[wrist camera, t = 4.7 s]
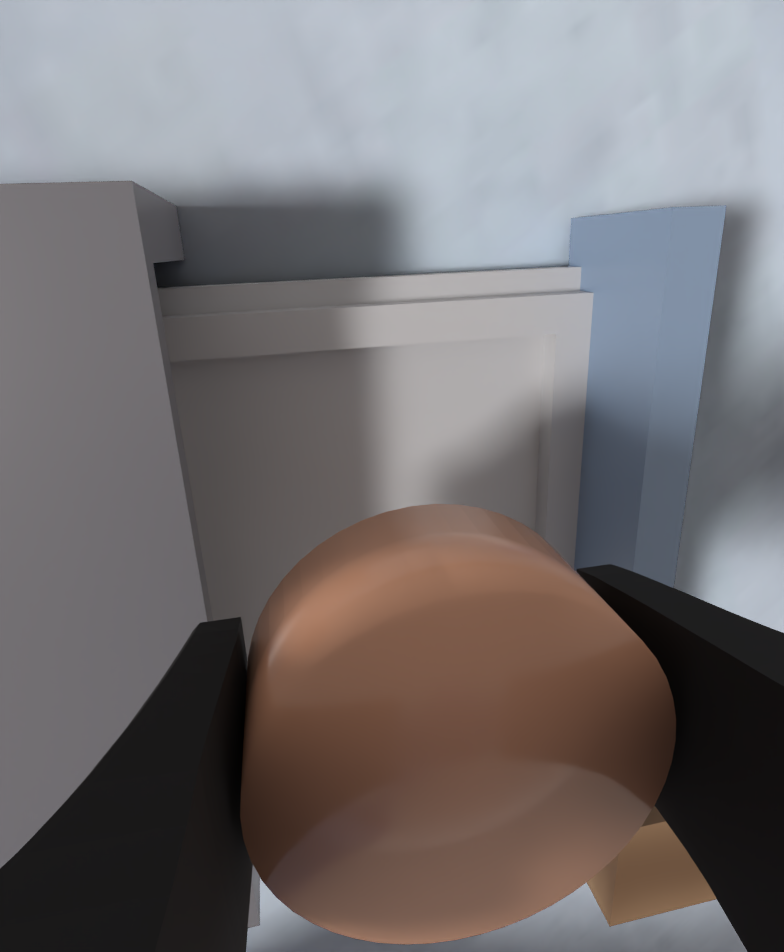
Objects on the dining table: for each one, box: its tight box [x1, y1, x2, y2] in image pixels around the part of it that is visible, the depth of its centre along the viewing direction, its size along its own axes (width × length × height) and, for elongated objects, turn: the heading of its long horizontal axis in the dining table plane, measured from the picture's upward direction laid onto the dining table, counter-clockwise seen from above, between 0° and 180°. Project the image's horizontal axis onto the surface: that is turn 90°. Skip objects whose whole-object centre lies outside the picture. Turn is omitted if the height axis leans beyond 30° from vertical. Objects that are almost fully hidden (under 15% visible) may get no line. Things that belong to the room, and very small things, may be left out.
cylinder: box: [240, 504, 676, 944], centre depth 8 cm, size 5×5×2 cm
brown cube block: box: [587, 805, 717, 926], centre depth 18 cm, size 4×4×4 cm
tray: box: [157, 205, 726, 661], centre depth 13 cm, size 13×11×4 cm
